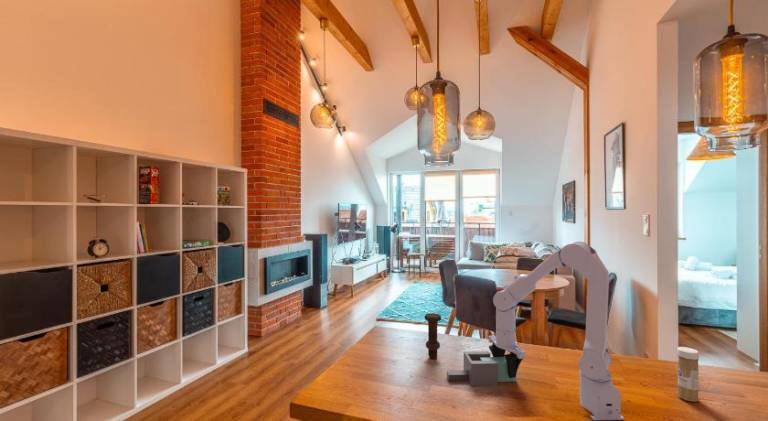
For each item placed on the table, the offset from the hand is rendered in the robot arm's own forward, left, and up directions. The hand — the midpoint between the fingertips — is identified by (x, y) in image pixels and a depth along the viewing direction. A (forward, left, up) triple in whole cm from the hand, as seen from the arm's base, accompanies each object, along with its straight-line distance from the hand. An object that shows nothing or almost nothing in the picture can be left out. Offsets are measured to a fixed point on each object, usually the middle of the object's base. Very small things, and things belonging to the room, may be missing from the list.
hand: (505, 373), depth 109 cm
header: (0, +8, -2) cm, 8 cm away
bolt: (+16, +20, -2) cm, 26 cm away
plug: (0, +2, -2) cm, 3 cm away
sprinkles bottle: (-13, -46, -2) cm, 48 cm away
